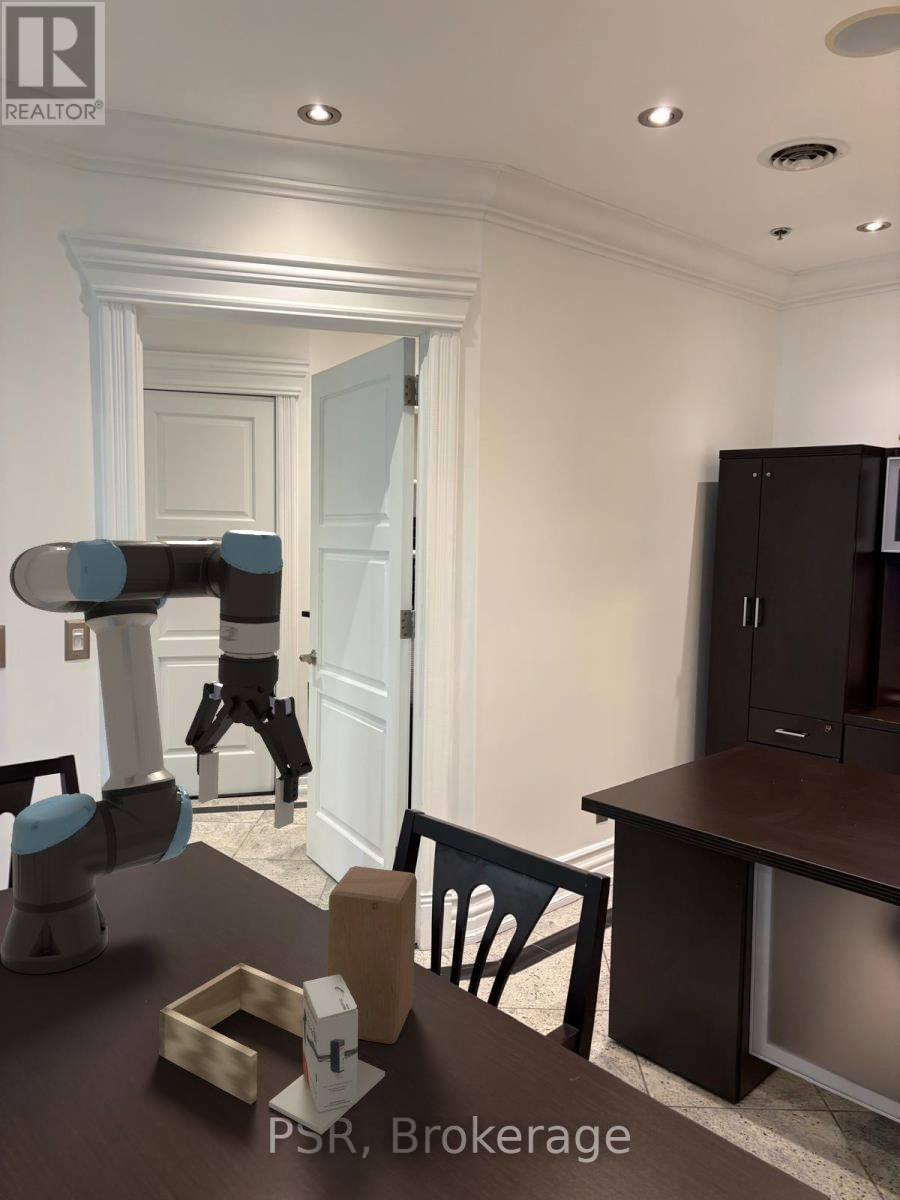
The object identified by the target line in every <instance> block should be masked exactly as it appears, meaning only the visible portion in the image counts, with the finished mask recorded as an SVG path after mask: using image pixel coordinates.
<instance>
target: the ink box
mask: <svg viewBox="0 0 900 1200" xmlns="http://www.w3.org/2000/svg"><path fill="white" fill-rule="evenodd" d="M302 989H303V1038H302V1070H303V1074H305V1077H306V1080H307V1083H308V1085H309V1088H310V1091H311V1094H312V1097H313V1100H314V1103H315V1105H316V1108H317V1111H318V1112H323V1111H327V1110H331V1109H336V1108H340V1107H344V1106H348V1105H352V1104H354V1105H356V1104H357V1103H358V1101H357V1067H358V1059H359V1057H358V1055H359V1053H358V1050H359V1049H358V1048H359V1047H358V1044H359V1042H358V1041H359V1039H358V1010H357V1005H356V1004H355V1001H354V999H353V997H352V996H351V994H350V991H349V989H348V988H347V986H346V983H345V981H344V980H343V978H342V976H341V975H332V976H328V977H327V976H324V977H319V978H316V979H311V980H305V981H303V982H302Z"/></svg>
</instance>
